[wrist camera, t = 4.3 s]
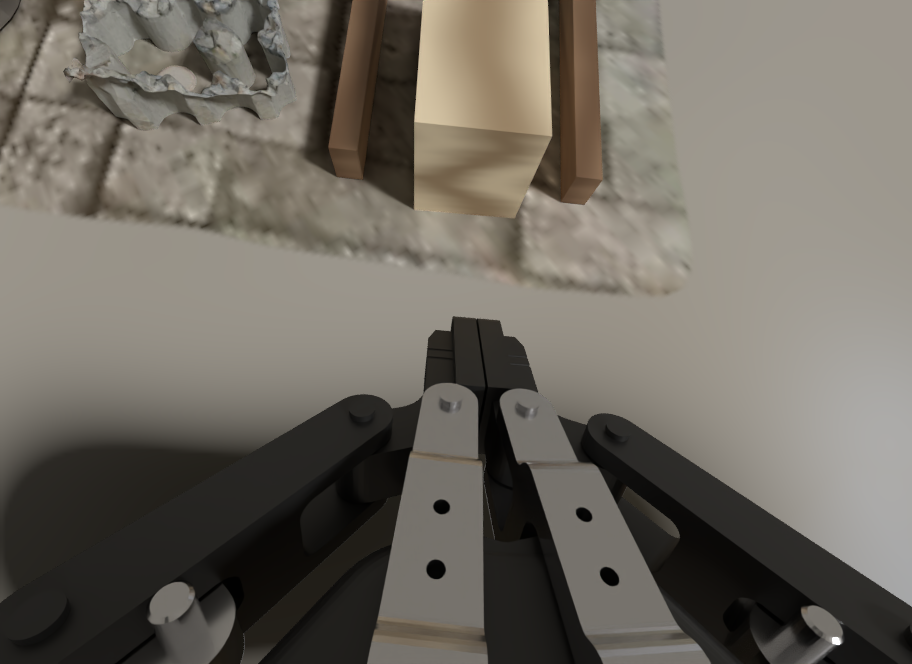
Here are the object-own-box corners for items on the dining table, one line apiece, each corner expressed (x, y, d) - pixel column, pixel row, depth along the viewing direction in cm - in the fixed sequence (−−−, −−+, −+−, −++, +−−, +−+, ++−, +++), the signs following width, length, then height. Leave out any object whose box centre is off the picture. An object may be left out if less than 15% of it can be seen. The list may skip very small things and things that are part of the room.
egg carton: (110, 138, 23) (48, 77, 19) (116, 35, 25) (60, -40, 21) (302, 128, 25) (280, 69, 21) (295, 31, 26) (274, -40, 22)
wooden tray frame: (336, 176, 24) (326, 140, 21) (377, -81, 29) (373, -138, 26) (584, 204, 25) (606, 174, 22) (578, -48, 31) (595, -99, 28)
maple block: (414, 211, 24) (414, 121, 17) (425, 50, 27) (428, -79, 20) (513, 219, 24) (552, 136, 18) (513, 61, 28) (545, -61, 21)
